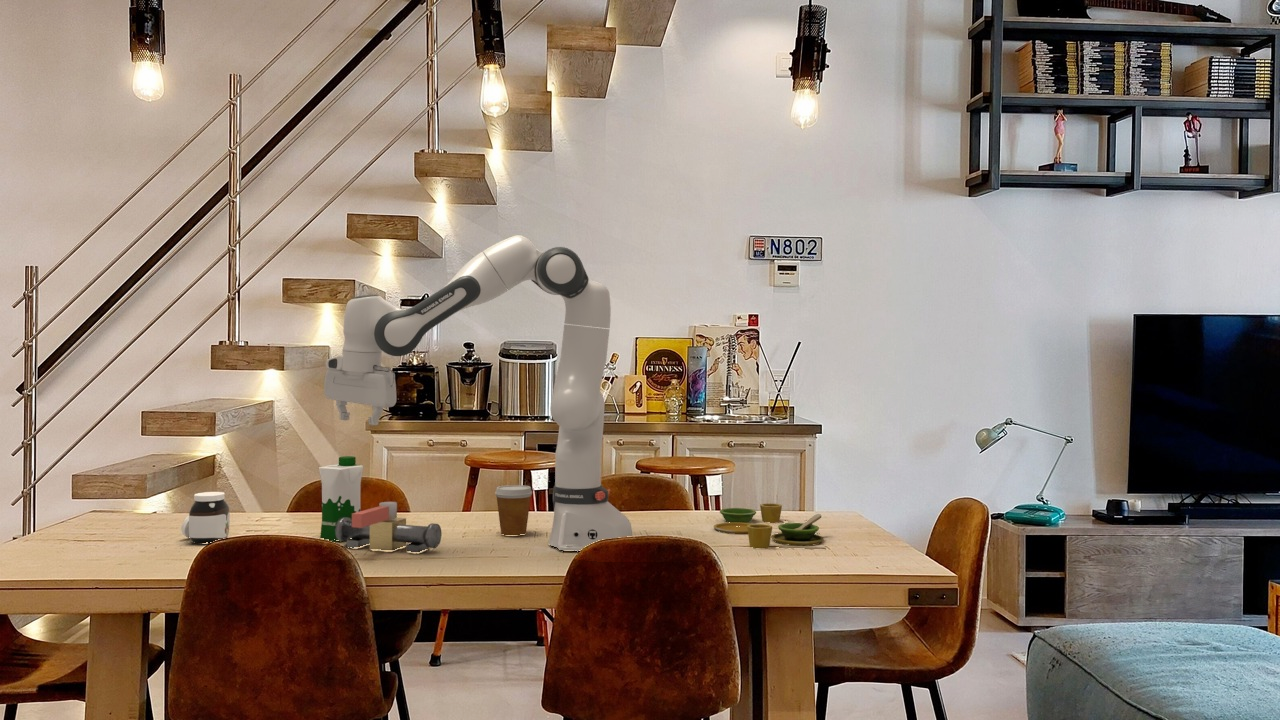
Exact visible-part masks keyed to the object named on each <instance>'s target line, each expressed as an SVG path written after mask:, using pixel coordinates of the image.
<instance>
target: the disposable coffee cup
mask: <svg viewBox="0 0 1280 720" xmlns="http://www.w3.org/2000/svg"><path fill="white" fill-rule="evenodd" d="M494 494H495V497H496V502H497V504H496V505H497V511H498V520H499V527H500V529H499V530H500V535H501V534H504V535H520V534H525V533H526V534H527V528H528V527H527V526H528V520H529V513H530V510H529V509H530V504H531V497H532V494H533V491H532V487H531V486H530V485H522V484H509V485H500V486H497V487H496V490H495V492H494Z"/></svg>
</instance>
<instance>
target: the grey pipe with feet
mask: <svg viewBox="0 0 1280 720" xmlns="http://www.w3.org/2000/svg"><path fill="white" fill-rule="evenodd" d="M335 535H336V538H337V539H338V540H339V541H344V542H346V547H347V546H348V547H349V548H350V547H352V548H354V547H360V546H363V545H366V544H369V543H370V546H369V550H370V549H381V550H395V549H397V548H400V547H403V546H406V548H405V550H406V551H411V552H420V551H422V550H425V549H428V548H429V549H437V548H438V547H439V545H440V543H441V541H442V527H441V526H440V524H438V523H435V522H434V523H433V522H431V523H429V524H428V525H427V526H426V525H425V526H424V525H412V524H411V525H410V524H407V517H406V518H405V517H397V518H395V519H389V520H385V521H382V522H379V523H376V524H372V525H369V526H366V527H362V528H357V527H352V520H351V518H349V517H342V518H340V519H339V520H338V522H337V524H336V527H335ZM350 538H352V539H350ZM406 551H405V552H406Z"/></svg>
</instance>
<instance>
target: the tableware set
mask: <svg viewBox="0 0 1280 720" xmlns="http://www.w3.org/2000/svg"><path fill="white" fill-rule="evenodd" d="M759 507H760V514H761V521H762V522H763V523H762V524H761V523H759V524H758V523H750V522H751V521H752V519H753V517H754V516H755V515H756V514H757V511H756V510H755V509H751V508H742V507H729V508H728V507H727V508H722V509H720V510H719V513H720V514H721V515H722V517H723V519H724V521H725V522H720V523H716V524H714V525H713V529H715V530H716V531H717V532H719V531H720V533H723V532H725V533H724V534H729V533H735V534H734V535H748V542H749V543H748V544H749V547H750V548H751V547H753V548H752V549H756V548H765V549H769V548H770V545H771V539H772V540H773V542H775V541H776V542H775V543H777V542H778V543H777V544H780V543H782V544H781V545H779V546H780V547H779V548H805V549H804V550H814V549H825V550H827V548H826V547H825V546H814V545H813V544H816V545H819V544H820V542H823V541H824V539H825V538H824V537H823V536H822V535H821V534H820V533H821V532H818V531H819V529H820V527H819V526H818V525H815V523H816V522H817V521H819V520H821V518H822V514H821V513H816V514H815V515H813V516H811V517H810V518H809V519H805V520H804V522H803V523H802V522H800V523H794V522H789V520H787V519H784V520H785V521H786V520H787V521H788V522H789V523H785V524H782V523H781V524H778V525H777V528H778V529H779V531H774V532H775V533H778V534H775V533H773V534H772V532H773V526H772V525H770V524H775V523H774V522H778V523H780V520H781V513H782V509H783V508H782V507H783V504H779V503H773V502H772V503H770V502H769V503H767V502H766V503H761V504H760V505H759ZM807 520H808V521H807ZM805 521H807V522H805ZM729 522H730V523H729ZM748 522H749V523H748ZM765 522H770V523H769V524H765ZM736 526H738V527H736ZM739 526H740V527H739ZM815 533H819V534H815ZM818 543H819V544H818ZM785 544H789V545H785ZM794 545H809V546H794ZM768 547H769V548H768Z"/></svg>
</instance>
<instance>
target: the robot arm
mask: <svg viewBox="0 0 1280 720" xmlns="http://www.w3.org/2000/svg"><path fill="white" fill-rule="evenodd" d="M529 280H531V282H533V283H534V284H535V285H536V286H538V288H539V289H540V290H542V291H543V292H545V293H547V294H549V295H554V296H560V297H561V298H562V299H563V301H564V304H565V305H564V307H565V313H564V324H563V331H562V340H561V341H562V342H561V350H560V357H559V363H558V366H557V367H558V368H557V372H556V376H555V381H554V387H553V391H552V398H551V402H550V414H551V418H552V419H553V421H554V422H555V423H556V424H557V425H558V426H559V427H558V436H557V443H556V449H555V457H554V459H555V461H554V463H555V464H554V469H555V474H554V475H555V476H554V479H555V482H554V485H553V490H552V491H553V492H552V503H553V504H552V505H553V521H552V527H551V532H550V536H549V540H548V543H549V544H550V545H552V546H555V547H557V548H558V549H560V550H574V551H575V550H577V552H576V553H579V552H578V551H579V550H581V549H582V548H584V547H585V546H587V545H589V544H591V543H593V542H596V541H598V540H602V539H610V538H618V537H627V536H633V528H632V523H631V521H630V519H629V518H628V516H626V515H625V514H624V513H623V512H621V511H620V510H619V509H618V508H616V507H615V506H614V505H612V503H611V502H609V495H610V494H611V489H610V488H608V489H606V488H605V487H604V486H602V446H603V436H604V426H605V425H604V424H605V398H604V395H603V394H602V391H601V386H602V381H603V375H604V371H605V367H606V363H607V355H608V347H609V340H610V339H609V338H610V337H609V336H610V329H611V313H612V312H611V297H610V291H609V289H608V287H607V286H605V285H604V284H603V283H601V282H599V281H596V280H593V279H592V280H591V279H589V276H588V274H587V272H586V269H585V267H584V265H583V262H582V260H581V258H580V257H579V255H578V254H577V253H576V252H575V251H574V250H572V249H570V248H568V247H565V246H557V247H556V246H555V247H552V248H549V249H548V250H545V251H542V250H539V249H538V248H537V247H536V246H535V244H534V243H533V242H532V241H531V240H530V239H529V238H528V237H526V236H524V235H521V234H517V235H513V236H510V237H508V238H506V239H503V240H500V241H498V242H497V243H493V244H492V245H491V246H489V247H488V248H485V249H484V250H483V251H481V252H479V253H478V254H476V255H475V256H474V257H472V258H470V259H469V260H468V261H467V262H466V263H465V264H464V265H463V266H462V267H461V268H460V269H459V270H458V271H457V272H456V274H455V275H454V276H453V277H452V279H451V280H450V281H448V282H447V283H446V285H444V286H443V287H442V288H440V289H439V290H438V291H436V292H434V293H433V294H432V295H430V296H428V297H427V298H425V299H423V300H422V301H421V302H419V303H417V304H416V305H413V306H412V307H409V308H407V309H402V308H400V307H398V306H397V305H394V304H392V303H391V302H389V301H387V300H386V299H384V298H383V297H382V296H381V295H379V294H366V295H359V296H354V297H352V298H350V299H349V300H348V301H347V304H346V307H345V310H344V311H345V312H344V318H343V329H342V330H343V335H344V343H343V345H342V349H341V350H342V351H341V352H342V353H341V354H340V355H337V356H333V357H331V358H328V359H326V361H325V367H326V369H327V370H326V372H325V376H324V384H323V385H324V386H323V388H324V389H323V394H324V396H325V398H326V399H328V400H333V401H336V405H335V406H336V408H337V410H338V412H339V416H338V417H339V419H338V420H341V421H348V420H350V412H348V410H347V409H348V408H347V405H348V403H351V404H352V403H353V404H361V405H366V406H371V410H372V411H373V412H372V415H371V416H368V425H370V426H378V425H379V421H380V419H379V418H380V417H381V415H382V414H383V411H384V408H392V407H394V406H395V405H396V403H397V384H396V374H395V372H394V371H393V370H392V369H391V367H390V366H382V352H383V353H384V354H387V355H389V356H392V357H403V356H406V355H408V354H410V353H412V352H413V351H414V350H415V349H416V348H417V346H418V345H419V344H420V343H421V341H422V340H423V337H424V336H425V335H426V333H428V332H430V330H432V329H433V328H435V327H436V326H438V325H439V324H441V323H442V322H444V321H445V320H447V319H448V318H450V317H451V316H454V314H456V313H458V312H461V311H462V310H464V309H467V308H471V307H475V306H479V305H481V304H485V303H487V302H489V301H492V300H495V299H497V298H498V297H500V296H503V295H504V294H505V293H507V292H508V291H510V290H511V289H514V287H516V286H517V285H519V284H521V283H523V282H525V281H529ZM548 543H547V544H548ZM550 545H549V546H550ZM557 548H556V549H557ZM558 549H557V550H558Z"/></svg>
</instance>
